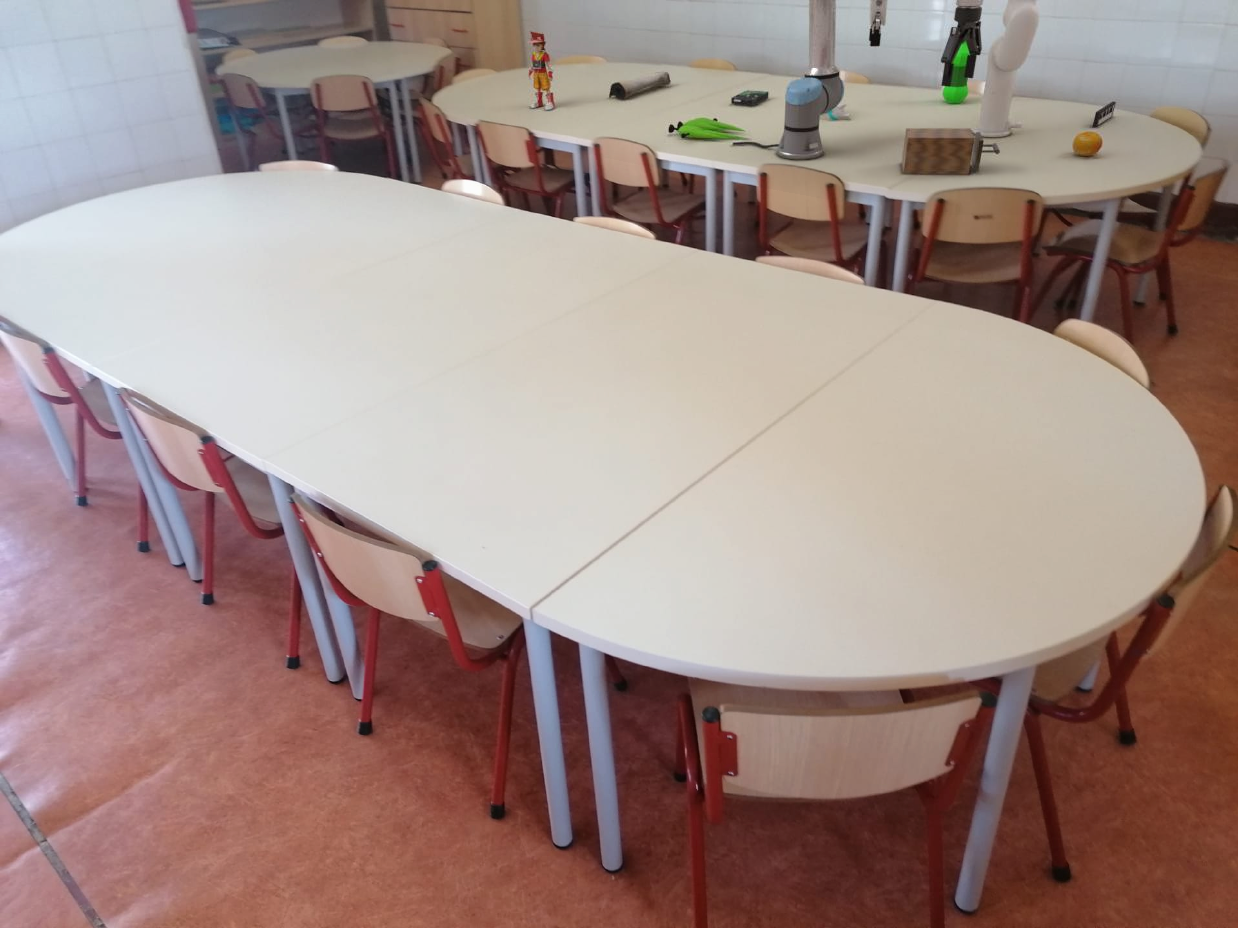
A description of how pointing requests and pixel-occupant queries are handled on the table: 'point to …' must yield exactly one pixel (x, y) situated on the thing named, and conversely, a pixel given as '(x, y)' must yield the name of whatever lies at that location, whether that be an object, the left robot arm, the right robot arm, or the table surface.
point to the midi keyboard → (1104, 113)
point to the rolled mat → (638, 84)
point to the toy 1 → (541, 71)
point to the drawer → (978, 150)
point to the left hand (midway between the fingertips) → (957, 82)
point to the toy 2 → (704, 129)
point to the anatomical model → (838, 112)
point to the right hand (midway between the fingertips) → (874, 43)
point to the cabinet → (937, 150)
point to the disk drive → (749, 98)
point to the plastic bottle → (958, 78)
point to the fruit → (1087, 143)
